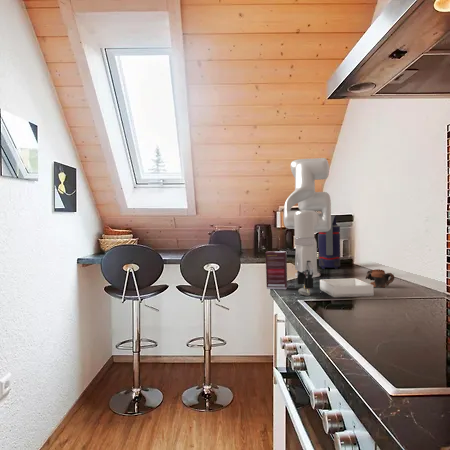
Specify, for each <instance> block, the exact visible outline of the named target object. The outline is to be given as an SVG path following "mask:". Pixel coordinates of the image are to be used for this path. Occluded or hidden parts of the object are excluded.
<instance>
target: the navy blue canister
mask: <svg viewBox="0 0 450 450" xmlns="http://www.w3.org/2000/svg"><path fill="white" fill-rule="evenodd" d="M340 232H341V226H340V225H338V223H337V216H336V215H331V228H330V230H329V231H328V232H318V266H319V267H321V269H323V270H325V269H326V268H334V269H335V270H337V269H338V268H340V267H341V234H340Z"/></svg>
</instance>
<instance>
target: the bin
mask: <svg viewBox="0 0 450 450" xmlns="http://www.w3.org/2000/svg"><path fill="white" fill-rule="evenodd" d="M319 290H321V291H322V292H324V293H326V294H328V295H329V296H331V297H332V298H351V297H353V298H354V297H374V290H375V289H374V287H373V285H371V284H370V283H369V282H366V281H363V280H360V279H359V278H355V277H354V278H353V277H352V278H330V279H327V278H326V279H319Z"/></svg>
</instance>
